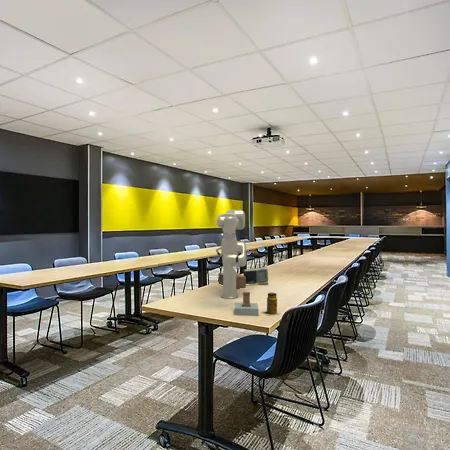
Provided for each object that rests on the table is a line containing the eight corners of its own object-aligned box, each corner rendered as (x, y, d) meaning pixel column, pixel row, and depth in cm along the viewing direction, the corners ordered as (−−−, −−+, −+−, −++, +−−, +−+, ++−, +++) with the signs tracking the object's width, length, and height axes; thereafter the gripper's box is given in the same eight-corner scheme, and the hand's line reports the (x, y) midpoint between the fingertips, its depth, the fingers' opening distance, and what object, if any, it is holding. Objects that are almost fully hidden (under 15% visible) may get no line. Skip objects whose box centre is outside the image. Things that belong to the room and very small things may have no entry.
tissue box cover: (218, 284, 295) (218, 272, 294) (233, 283, 300) (233, 272, 300) (229, 290, 270) (229, 277, 270) (245, 289, 275) (245, 276, 275)
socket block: (234, 308, 211) (234, 302, 211) (257, 309, 210) (257, 303, 210) (234, 315, 197) (234, 308, 197) (258, 315, 196) (258, 308, 196)
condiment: (279, 314, 201) (280, 294, 201) (267, 315, 197) (267, 295, 197) (273, 311, 207) (273, 291, 207) (261, 312, 204) (261, 292, 204)
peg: (242, 311, 206) (243, 291, 206) (249, 311, 205) (249, 291, 205) (242, 313, 202) (243, 293, 202) (249, 313, 201) (249, 293, 201)
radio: (242, 285, 290) (242, 268, 290) (240, 283, 298) (241, 266, 298) (269, 285, 292) (269, 268, 292) (266, 283, 301) (267, 266, 301)
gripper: (215, 236, 211) (215, 263, 211) (243, 236, 210) (242, 263, 211) (216, 235, 219) (215, 261, 219) (242, 236, 218) (242, 262, 218)
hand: (229, 262), depth 215 cm, fingers open, 9 cm apart
